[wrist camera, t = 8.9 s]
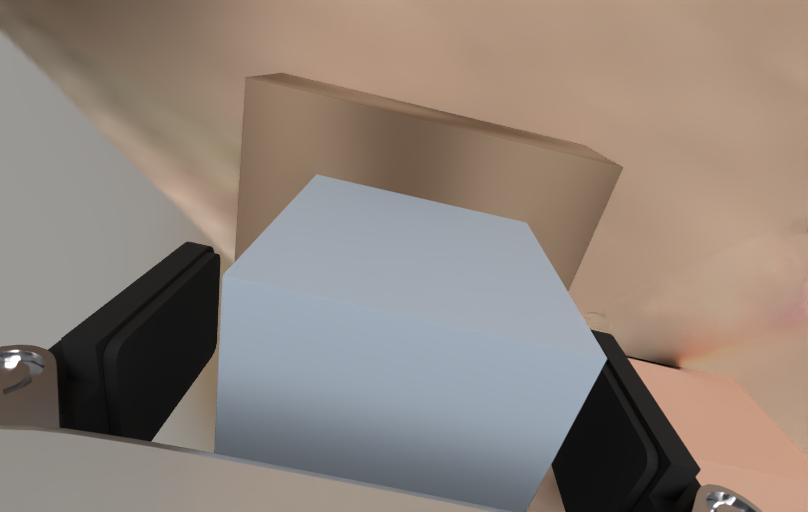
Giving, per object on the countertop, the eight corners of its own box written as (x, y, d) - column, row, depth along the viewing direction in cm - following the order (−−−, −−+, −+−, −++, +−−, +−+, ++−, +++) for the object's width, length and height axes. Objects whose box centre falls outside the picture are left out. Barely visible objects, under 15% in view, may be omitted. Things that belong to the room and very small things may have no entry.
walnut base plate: (585, 145, 14) (622, 167, 11) (492, 379, 18) (503, 435, 16) (281, 72, 14) (245, 77, 11) (258, 329, 18) (227, 379, 15)
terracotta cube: (733, 377, 18) (836, 488, 13) (674, 460, 20) (746, 579, 15) (617, 352, 18) (682, 456, 13) (570, 438, 20) (613, 553, 15)
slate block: (526, 222, 12) (606, 358, 7) (467, 384, 15) (490, 577, 9) (316, 174, 12) (222, 275, 6) (293, 347, 14) (211, 524, 9)
